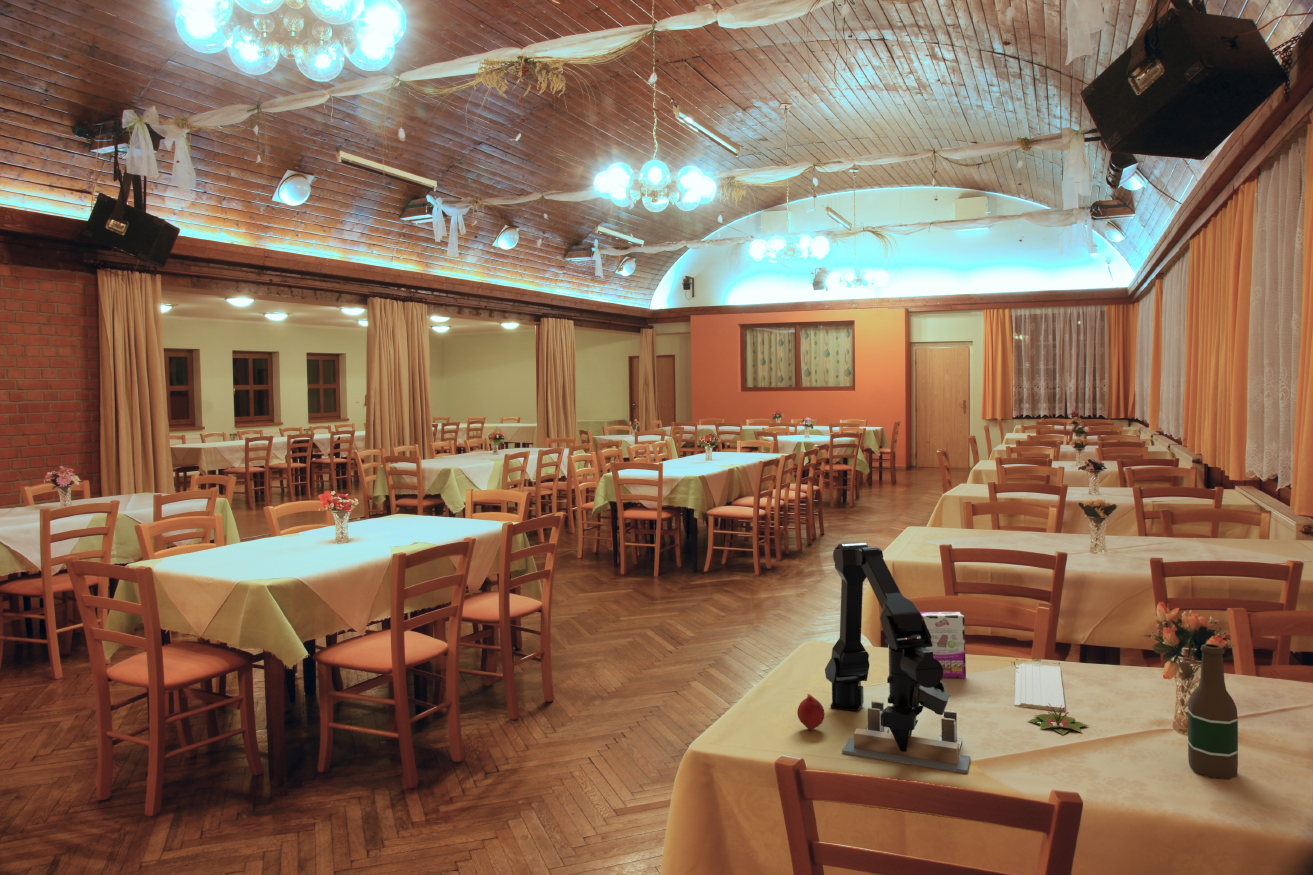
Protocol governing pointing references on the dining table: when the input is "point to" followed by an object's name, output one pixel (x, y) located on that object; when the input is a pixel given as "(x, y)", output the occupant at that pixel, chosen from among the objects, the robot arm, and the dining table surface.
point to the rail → (914, 748)
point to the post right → (950, 728)
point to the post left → (876, 717)
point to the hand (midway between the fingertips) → (905, 747)
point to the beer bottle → (1212, 720)
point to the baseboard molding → (1039, 686)
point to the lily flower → (1058, 721)
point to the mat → (908, 758)
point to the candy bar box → (947, 641)
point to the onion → (810, 712)
